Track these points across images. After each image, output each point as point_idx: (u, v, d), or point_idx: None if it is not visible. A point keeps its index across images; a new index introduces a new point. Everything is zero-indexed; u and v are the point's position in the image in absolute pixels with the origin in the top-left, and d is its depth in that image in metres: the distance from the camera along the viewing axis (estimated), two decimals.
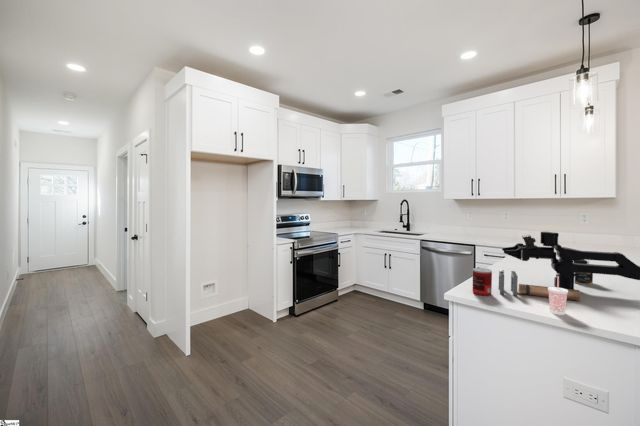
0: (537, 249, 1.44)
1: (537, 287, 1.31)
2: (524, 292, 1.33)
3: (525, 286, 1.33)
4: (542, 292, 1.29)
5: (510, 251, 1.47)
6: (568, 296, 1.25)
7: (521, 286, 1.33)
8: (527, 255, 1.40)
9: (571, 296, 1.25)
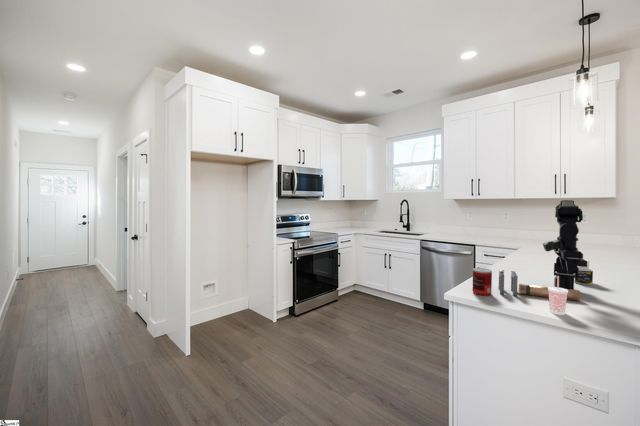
0: (563, 239, 1.25)
1: (537, 287, 1.31)
2: (524, 292, 1.33)
3: (525, 286, 1.33)
4: (542, 292, 1.29)
5: (568, 267, 1.22)
6: (568, 296, 1.25)
7: (521, 286, 1.33)
8: (574, 253, 1.18)
9: (571, 297, 1.25)
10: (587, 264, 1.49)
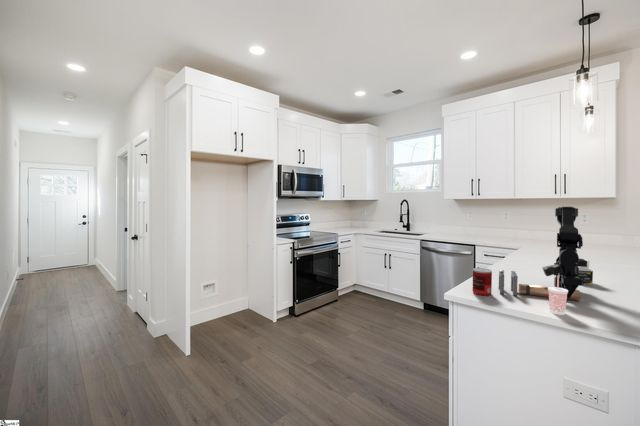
0: (563, 264, 1.25)
1: (537, 287, 1.31)
2: (524, 292, 1.33)
3: (525, 286, 1.33)
4: (542, 292, 1.29)
5: None
6: None
7: (521, 286, 1.33)
8: (574, 280, 1.18)
9: (571, 296, 1.25)
10: (587, 264, 1.49)
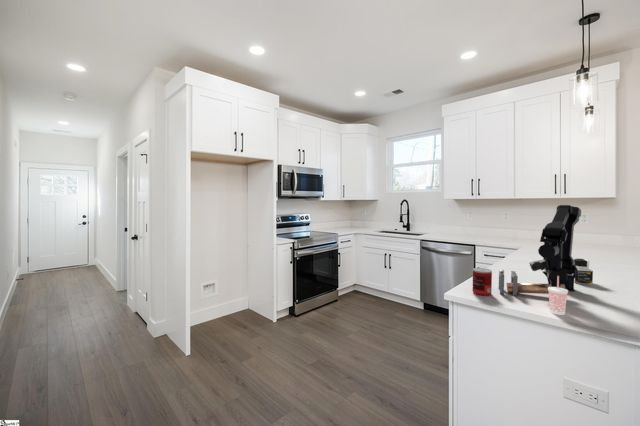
0: (549, 259, 1.27)
1: (524, 284, 1.33)
2: (512, 290, 1.35)
3: (512, 284, 1.35)
4: (529, 289, 1.31)
5: (553, 286, 1.27)
6: None
7: (508, 285, 1.36)
8: (559, 274, 1.21)
9: None
10: (587, 264, 1.49)
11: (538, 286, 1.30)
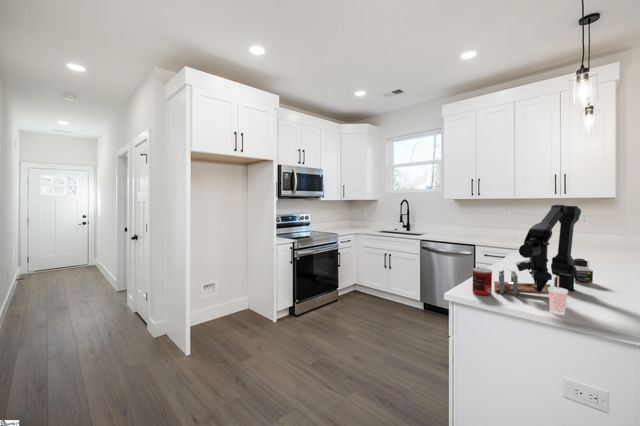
0: (535, 259, 1.30)
1: (511, 283, 1.36)
2: (499, 289, 1.37)
3: (499, 283, 1.37)
4: None
5: (538, 286, 1.29)
6: None
7: (496, 283, 1.38)
8: (543, 274, 1.23)
9: (543, 291, 1.29)
10: (587, 264, 1.49)
11: (524, 285, 1.33)
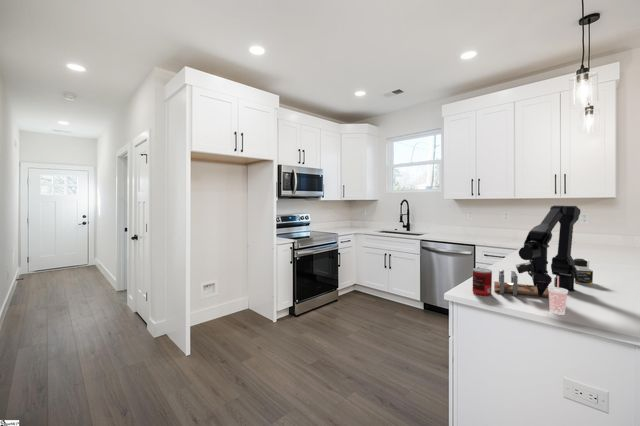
0: (534, 262, 1.30)
1: (511, 285, 1.35)
2: (499, 289, 1.37)
3: None
4: None
5: (539, 289, 1.27)
6: None
7: (496, 284, 1.38)
8: (543, 277, 1.23)
9: (543, 293, 1.29)
10: (587, 264, 1.49)
11: (524, 287, 1.33)
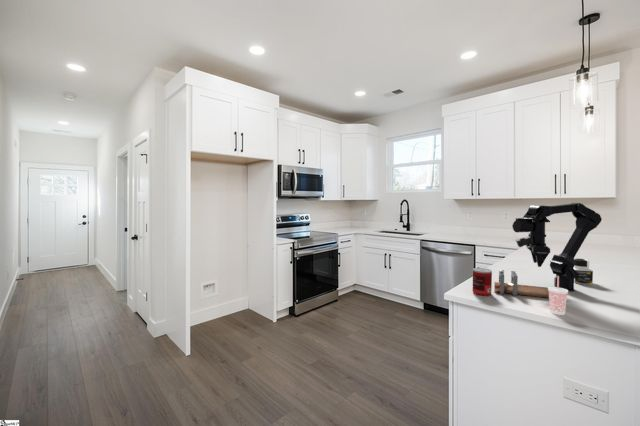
0: (533, 235, 1.39)
1: (511, 287, 1.34)
2: (499, 291, 1.37)
3: None
4: None
5: (538, 261, 1.36)
6: (540, 295, 1.29)
7: (496, 286, 1.36)
8: (542, 248, 1.32)
9: (543, 296, 1.29)
10: (587, 264, 1.49)
11: (525, 290, 1.31)
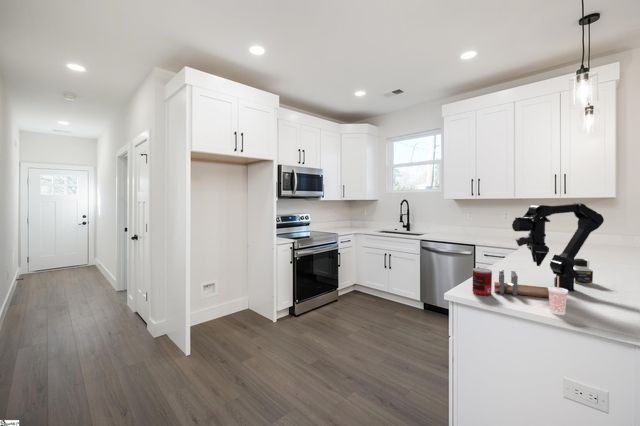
0: (533, 234, 1.40)
1: (511, 287, 1.34)
2: (499, 291, 1.37)
3: None
4: None
5: (537, 260, 1.37)
6: (540, 295, 1.29)
7: (496, 286, 1.36)
8: (541, 247, 1.33)
9: (543, 296, 1.29)
10: (587, 264, 1.49)
11: (525, 290, 1.31)
